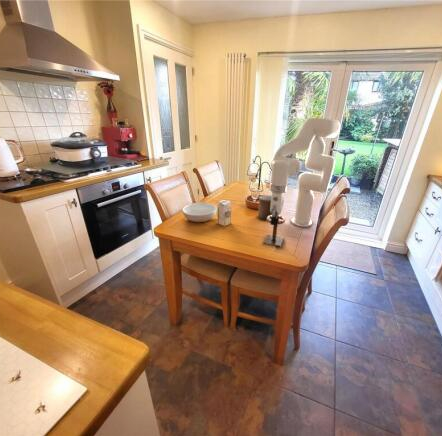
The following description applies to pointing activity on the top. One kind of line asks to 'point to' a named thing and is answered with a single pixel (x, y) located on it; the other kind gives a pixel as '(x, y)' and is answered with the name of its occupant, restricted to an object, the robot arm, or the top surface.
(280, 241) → the post
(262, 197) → the pillar candle
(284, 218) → the ring
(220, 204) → the syrup box
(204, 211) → the serving bowl
